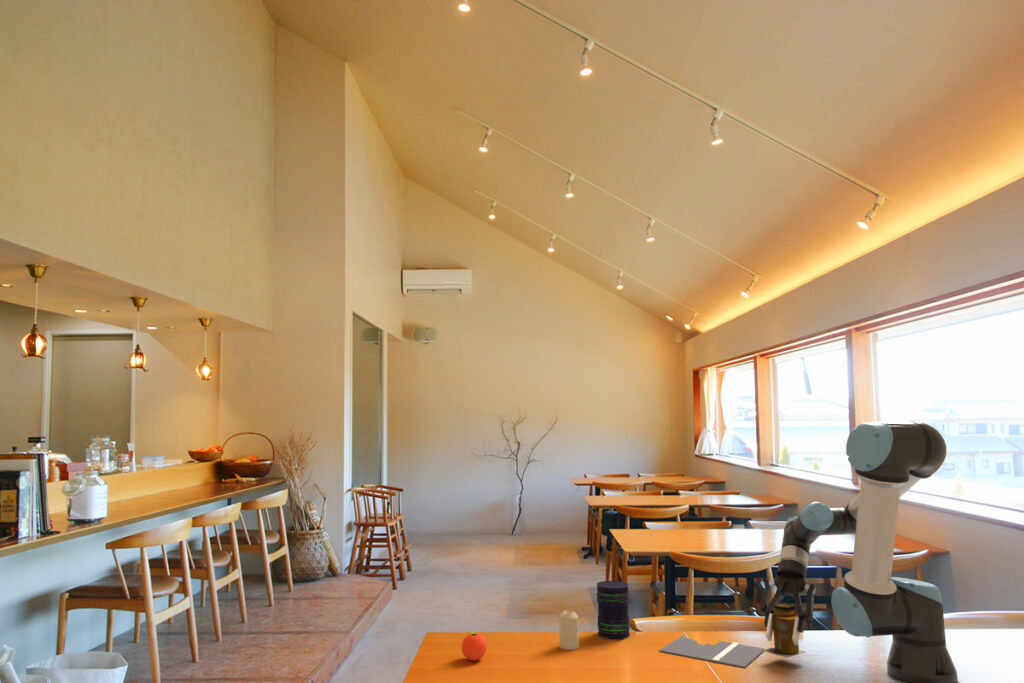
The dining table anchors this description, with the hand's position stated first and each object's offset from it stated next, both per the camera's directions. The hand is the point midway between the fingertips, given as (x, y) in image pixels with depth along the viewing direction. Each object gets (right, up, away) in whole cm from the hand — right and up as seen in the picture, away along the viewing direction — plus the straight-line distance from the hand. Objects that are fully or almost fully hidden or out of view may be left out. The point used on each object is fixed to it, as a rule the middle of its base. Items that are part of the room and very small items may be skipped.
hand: (781, 640), depth 177 cm
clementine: (-82, -9, +7) cm, 82 cm away
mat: (-15, -9, +13) cm, 21 cm away
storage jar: (-40, -11, +28) cm, 50 cm away
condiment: (+2, -5, +2) cm, 5 cm away
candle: (-55, -10, +17) cm, 58 cm away
